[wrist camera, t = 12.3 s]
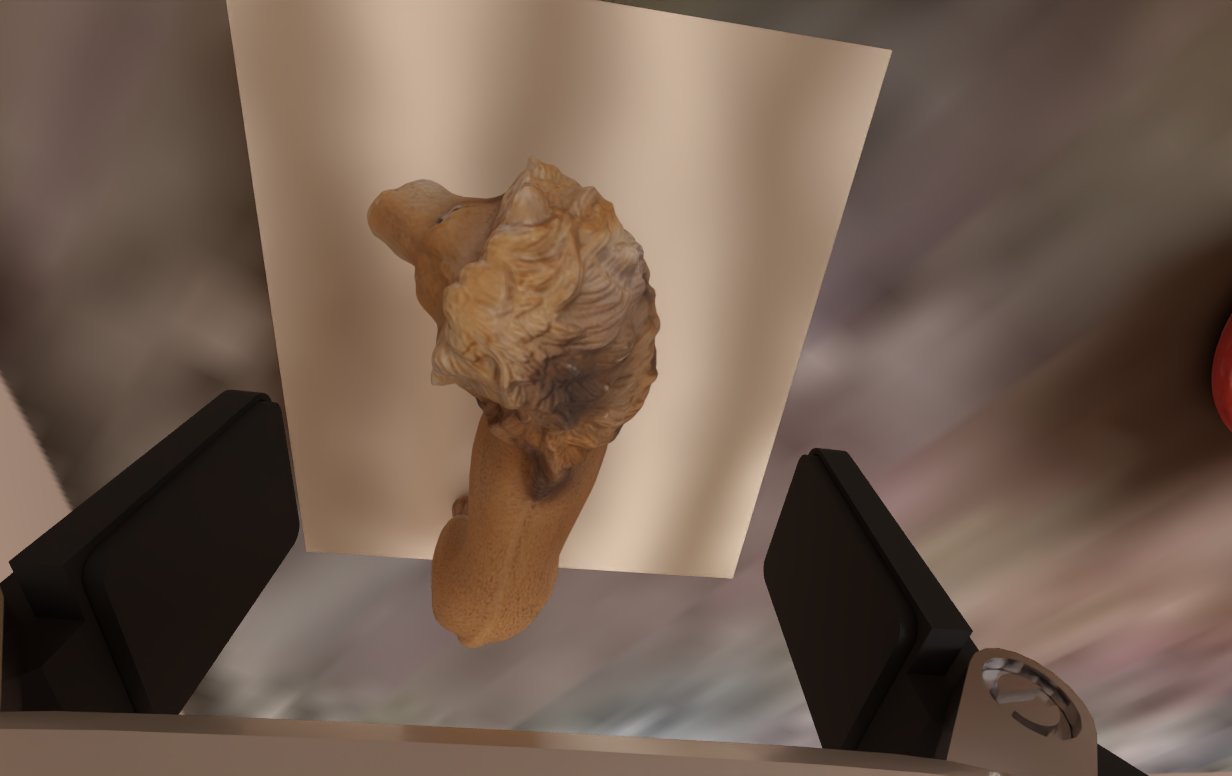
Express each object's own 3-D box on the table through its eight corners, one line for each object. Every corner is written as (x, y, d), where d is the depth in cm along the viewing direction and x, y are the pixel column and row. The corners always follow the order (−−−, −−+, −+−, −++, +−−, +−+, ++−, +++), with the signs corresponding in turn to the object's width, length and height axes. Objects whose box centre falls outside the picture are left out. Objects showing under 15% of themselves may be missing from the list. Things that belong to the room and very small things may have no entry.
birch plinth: (830, 61, 18) (892, 50, 14) (711, 512, 26) (732, 578, 22) (298, -26, 16) (216, -64, 12) (347, 485, 24) (306, 551, 20)
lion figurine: (453, 124, 14) (286, 146, 6) (657, 153, 15) (740, 208, 7) (450, 557, 21) (365, 840, 13) (592, 566, 21) (597, 843, 13)
